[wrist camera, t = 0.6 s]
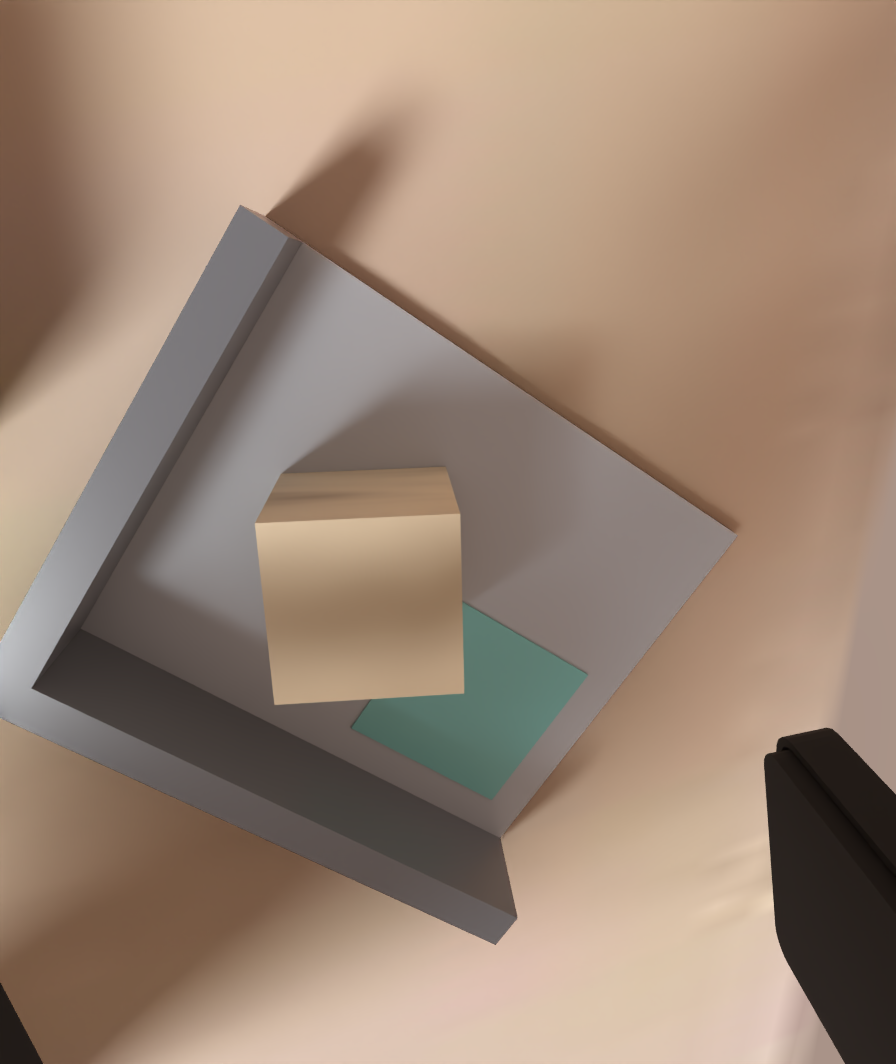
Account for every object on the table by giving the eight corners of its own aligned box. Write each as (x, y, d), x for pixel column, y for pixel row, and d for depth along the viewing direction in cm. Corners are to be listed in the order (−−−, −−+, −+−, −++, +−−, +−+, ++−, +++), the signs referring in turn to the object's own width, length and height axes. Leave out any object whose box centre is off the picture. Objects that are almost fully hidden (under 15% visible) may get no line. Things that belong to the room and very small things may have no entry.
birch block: (449, 616, 31) (464, 693, 25) (295, 624, 30) (274, 705, 25) (445, 466, 29) (460, 513, 23) (280, 473, 29) (255, 523, 23)
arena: (479, 854, 35) (495, 945, 31) (30, 634, 30) (-33, 702, 26) (732, 531, 31) (795, 578, 27) (264, 216, 26) (240, 204, 22)
